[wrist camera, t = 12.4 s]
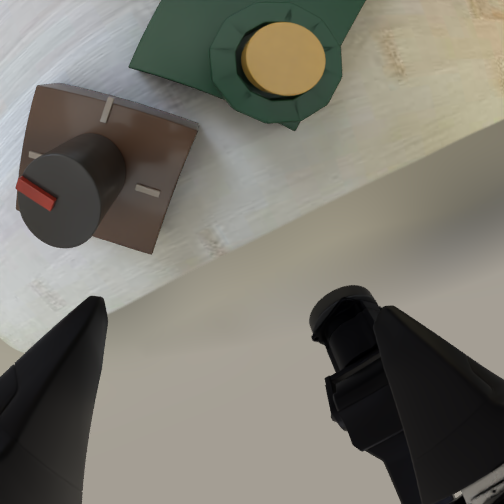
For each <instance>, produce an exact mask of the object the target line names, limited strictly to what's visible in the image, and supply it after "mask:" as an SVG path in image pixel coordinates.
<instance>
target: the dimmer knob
mask: <svg viewBox="0 0 504 504" xmlns="http://www.w3.org/2000/svg"><path fill="white" fill-rule="evenodd" d="M125 176H126V168H125V162H124V159H123V156H122V154H121V152H120V151H119V149H118V148H117V146H116V145H115V144H114V143H113V142H112V141H110V140H109V139H108V138H106V137H104V136H102V135H99V134H93V133H87V134H82V135H79V136H76V137H74V138H72V139H70V140H68V141H66V142H64V143H63V144H61V145H59V146H57V147H55V148H53V149H52V150H50V151H48V152H46V153H45V154H43V155H41V156H39V157H38V158H36V159H35V160H33V161H32V162H31V163H30V164H29V165H28V166H27V168H26V169H25V170H24V172H23V174H22V176H21V177H19V178H18V181H17V185H16V189H17V190H18V205H19V210H20V213H21V216H22V218H23V220H24V222H25V224H26V226H27V227H28V228H29V230H30V231H31V232H32V233H33V234H34V235H35V236H36V237H37V238H38V239H40V240H41V241H43V242H44V243H46V244H48V245H51V246H54V247H57V248H73V247H76V246H79V245H81V244H83V243H84V242H86V241H87V240H88V239H90V238H91V236H92V235H93V234H94V233H95V231H96V229H97V228H98V226H99V224H100V223H101V221H102V220H103V218H104V216H105V215H106V213H107V212H108V210H109V209H110V207H111V205H112V204H113V202H114V201H115V199H116V198H117V196H118V195H119V193H120V192H121V190H122V188H123V185H124V182H125Z"/></svg>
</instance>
